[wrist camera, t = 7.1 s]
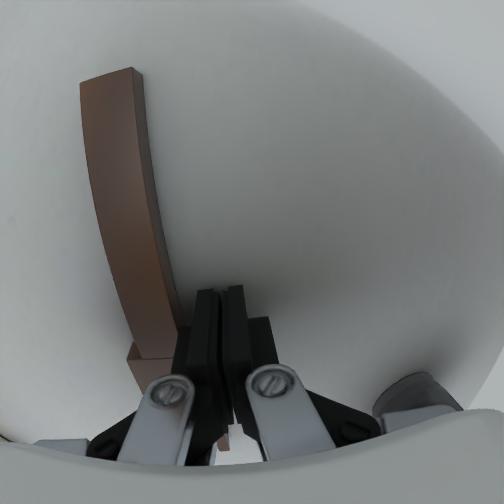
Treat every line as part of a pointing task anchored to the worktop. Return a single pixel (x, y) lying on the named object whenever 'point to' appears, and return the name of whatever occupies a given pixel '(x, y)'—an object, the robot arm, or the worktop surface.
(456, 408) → the beverage cup
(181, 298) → the worktop surface
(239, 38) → the worktop surface
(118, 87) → the salad fork
